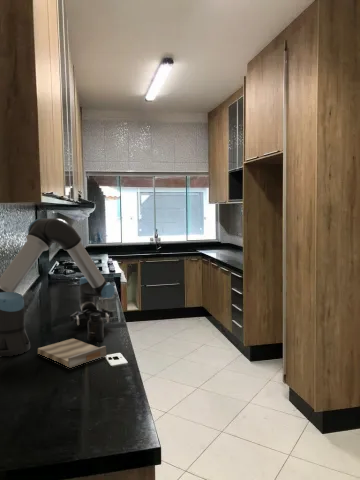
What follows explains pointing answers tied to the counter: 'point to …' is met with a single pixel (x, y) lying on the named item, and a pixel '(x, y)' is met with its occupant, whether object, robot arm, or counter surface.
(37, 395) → the counter surface
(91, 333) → the supplement bottle
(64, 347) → the shelf board
